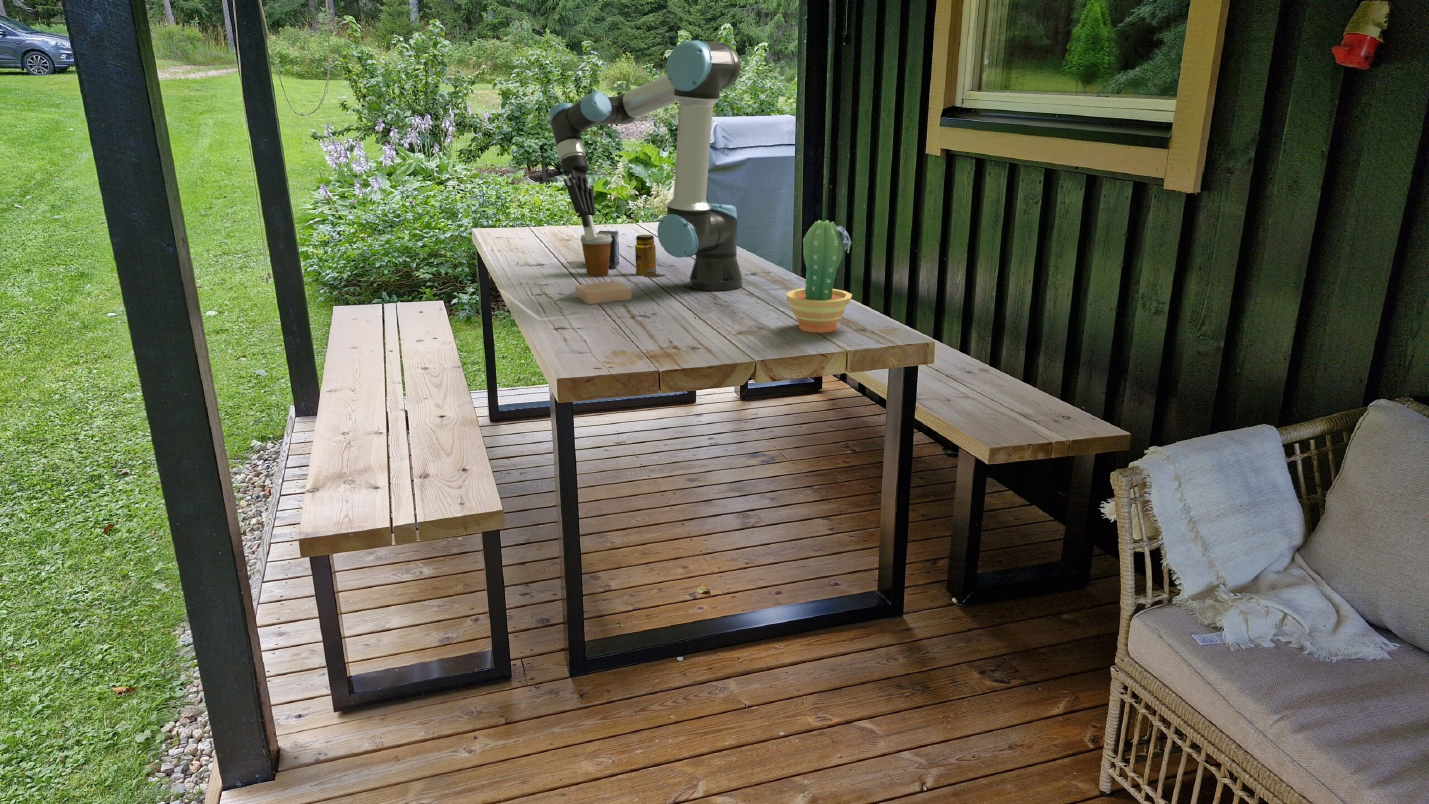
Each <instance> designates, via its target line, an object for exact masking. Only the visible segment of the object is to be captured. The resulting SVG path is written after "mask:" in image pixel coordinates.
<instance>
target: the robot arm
mask: <svg viewBox="0 0 1429 804" xmlns="http://www.w3.org/2000/svg"><path fill="white" fill-rule="evenodd" d="M666 61H667V62H666V68H665V69H666V75H664V76H662V77H659V78H657V79H655V80H652V81H650V82H647V83H644V84H642V85H640V86H638V87H635V88H633V89H630V90H628V91H626V92H624V93H620V94H619V95H616V96H607V95H606V94H605V93H602V92H601V91H597V90H596V91H592V92H591V93H589V94H586V95H585V96H584V97H583V98H581V99H580V100H578V101H576V102H575V103H574V104H572V103H570V102H560V103H558V104H555V105H552V106H551V107H550V109H549V112H548V113H549V114H548V115H549V120H550V126H551V130H552V133H553V137H554V142H555V145H556V149H557V156H558V158H559V161H560V163H559V164H560V167H561V173H562V174H563V175H564V176H565V177H566V178H565V179H563V184H564V185H565V187H566V190H567V193H568V194H569V197H570V201H571V203H572V206H573V209H574V212H575V214H577V215H576V218H578V219H579V218H581V219H580V220H581V224H582V228H583V231H584V234H585V237H586V240H588V241H589V240H592V239H595V238H597V235H596V233H597V232H596V227H595V224H594V219H593V216H595V215H597V214H596V206H595V205H596V204H595V196H594V191H595V187H594V185H593V184H591V185H590V184H589V180H588V178H587V177H588V176H587V175H586V174H587V172H588V171H589V169H590V168H589V164H588V159H587V157H586V150H585V145H584V141H583V138H582V133H584V132H586V131H587V130H588V129H590V128H592V127H594V126H595V127H596V126H608V125H627V124H632V123H634V122H636V120H637V119H638V118H639V117H643V116H644V115H647V114H650V113H653V112H655V111H657V110H658V111H659V110H660V109H663V108H665V107H668V106H670V105H674V104H676V103H678V104H679V105H678V117H677V118H678V121H677V136H676V138H677V139H676V153H675V167H674V168H675V169H674V172H675V173H674V185H673V187H674V188H673V197H672V199H670V201H668V202H667V207H666V215H664V216H663V217H662V219H661V220H660V221H659V222H658V225H657V231H656V232H657V239H658V242H659V244H660V246H661V247H662V248H663V249H664V251H665V253H667V254H668V255H670V256H671V257H675V258H680V259H681V258H692V257H693V256H695V259H694V263H693V266H692V268H691V272H690V276H689V287H690V288H693V289H696V290H703V291H711V292H712V291H716V292H717V291H731V290H737V289H740V288H742V287H743V280H744V279H743V275H742V274H743V273H742V271H741V269H740V265H739V263H738V258H737V249H738V248H737V245H738V241H737V239H738V238H737V237H738V235H737V234H738V230H737V229H738V215H737V214H738V211H737V207H736V206H734V205H731V204H722V203H721V204H719V203H708V201H707V191H708V178H709V176H708V174H709V162H710V151H711V150H710V147H711V139H712V138H711V136H712V135H711V134H712V122H713V121H712V120H713V110H714V109H713V108H714V106H715V105H716V103H718V102H719V101H720V96H721V90H726V89H728V88H730V87H732V86H733V85H734V84H735V83H736V82H737V80H738V78H739V76H740V73H741V70H742V69H741V67H742V66H741V65H742V64H741V58H740V56H739V53H738V52H737V50H736V49H734V48H733V47H732V46H731V45H730V44H727V43H725V42H722V41H707V40H698V39H696V40H693V39H692V40H688V41H687V40H686V41H683V42H681V43H678V44H677V45H676V46H675V47H674V48H673V49H672V50H671V52H670V54H669V55H668V57H667V60H666Z"/></svg>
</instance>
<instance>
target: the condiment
mask: <svg viewBox="0 0 1429 804" xmlns="http://www.w3.org/2000/svg"><path fill="white" fill-rule="evenodd" d="M635 238H636V239H635V240H636V241H635V243H636V244H635V247H634V250H635V254H634V255H635V273H636V274H633V275H634V276H635V275H638V276H642V277H644V278H647V279H650V278H655V277H656V278H657V277H662V276H666V274H664V273H661V272H660V273H659V272H657V261H656V260H657V258H656V257H657V254H656V253H657V252H656V244H655V236H654V235H652V234H640V235H639V234H638V235H636V237H635ZM648 277H649V278H648Z"/></svg>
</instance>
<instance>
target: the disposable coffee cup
mask: <svg viewBox="0 0 1429 804" xmlns="http://www.w3.org/2000/svg"><path fill="white" fill-rule="evenodd" d="M596 235H597V238H595V239H592V240H589V241H588V240H586V237H585V233H583V234H581V235H580V239H579V241H580V243H581V245H582V252H583V258H584V263H585V269H586V274H587V275H586V276H588V277H592V278H593V277H594V278H595V277H597V278H599V277H606V276H608V275H609V270H610V269H609V258H610V246H611V240H612V238H611V235H610V234H608V233H598V232H596Z"/></svg>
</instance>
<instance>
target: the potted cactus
mask: <svg viewBox="0 0 1429 804" xmlns="http://www.w3.org/2000/svg"><path fill="white" fill-rule="evenodd" d="M802 244H803V245H802V246H803V248H802V250H803V251H802V252H803V260H804V263H805V268H806V272H805V287H804V288H797V289H794V290H793V289H792V290H789V291H788V292H787V293H786V295H785V296H786V300H787V301H786V302H788V303H789V304H790V306H791V310H792V312H793V315H794V317H795V318H796V320H797V321H798V323H799V325H798V329H800V330H801V331H803V332H809V333H819V334H821V333H823V334H824V333H831V332H834V331H837V329H838V324H837V323H838V322H840V320H841V318H842V317H843V315H844V312H845V311H846V308H847V306H848V305H849V304H850V303H851V301H852V297H853V294H852V293H850V292H848V291H846V290H841V289H835V288H834V283H835V279H836V275H837V270H838V267H839V265H840V263H841V262H842V259H843V253H844V251H846V250H847V251H846V252H847V253H848V254H849V253H850V247H851V245H852V241H851V237H850V235H849V233H848V232H847V230H846V229H845V228H844V227H843V226H841V225H839V226H838V225H836V224H835V221H831V222H830V220H827V219H826V220H825V221H822V220H820V219H819V220H817V221H814V223H813V224H812V225H811V227H809V229H808V231H807V232H806V233H805V235H804V237H803V239H802Z"/></svg>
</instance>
